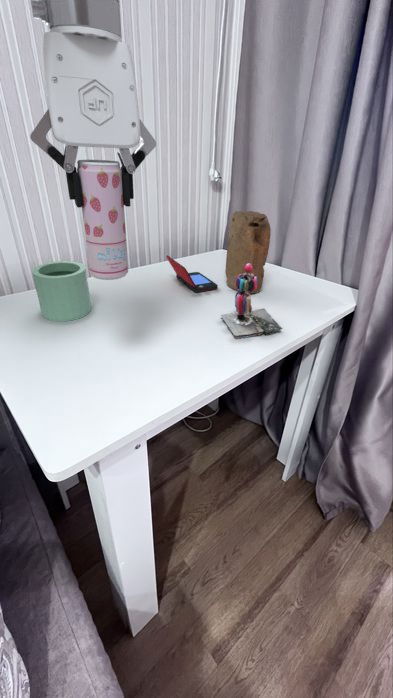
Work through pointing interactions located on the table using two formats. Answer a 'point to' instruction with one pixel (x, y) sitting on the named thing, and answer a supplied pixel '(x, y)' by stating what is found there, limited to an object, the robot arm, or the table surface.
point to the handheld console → (192, 278)
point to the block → (247, 246)
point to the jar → (62, 290)
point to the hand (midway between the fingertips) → (102, 203)
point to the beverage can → (104, 218)
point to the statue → (248, 310)
